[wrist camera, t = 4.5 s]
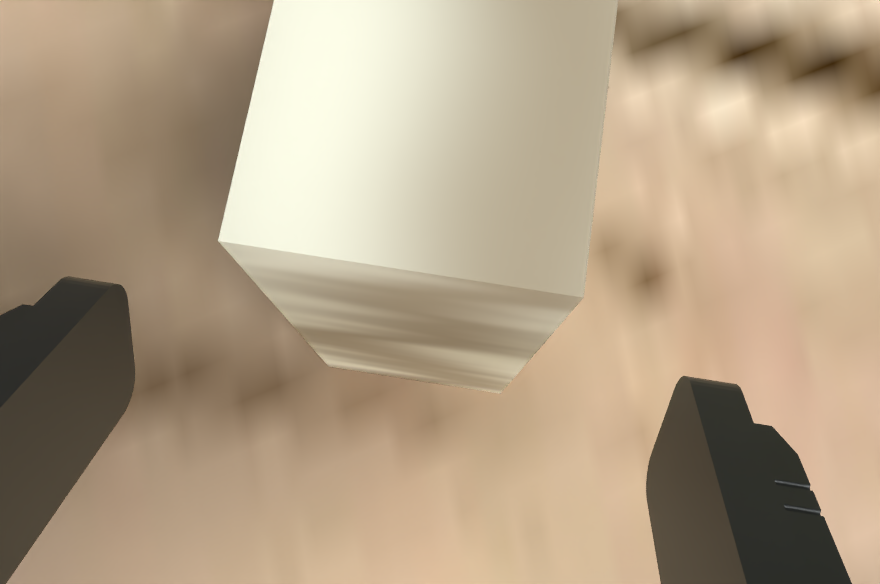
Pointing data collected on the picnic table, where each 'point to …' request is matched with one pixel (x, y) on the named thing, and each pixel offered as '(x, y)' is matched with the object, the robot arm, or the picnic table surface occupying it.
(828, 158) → the picnic table surface
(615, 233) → the picnic table surface
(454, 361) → the birch post
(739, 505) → the robot arm
